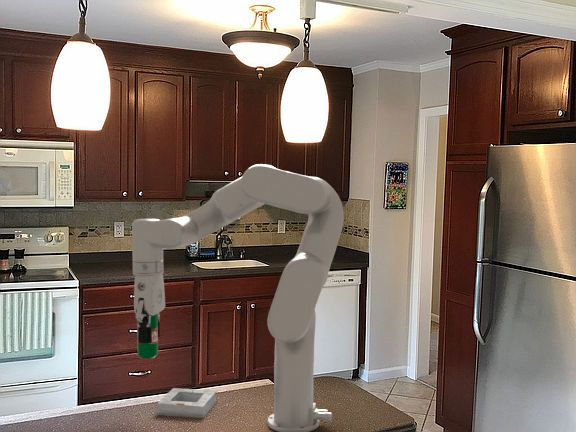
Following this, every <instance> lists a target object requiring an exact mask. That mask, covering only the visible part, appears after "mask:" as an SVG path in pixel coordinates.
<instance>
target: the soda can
mask: <svg viewBox="0 0 576 432" xmlns="http://www.w3.org/2000/svg"><path fill="white" fill-rule="evenodd" d="M143 314H148V313H147V312H143ZM144 318H146V320H147V317H144ZM158 322H159V321H158V317H157V314H155V315H151V321H150V327H152V342H151V343H139V330H138V321H137V320H136V336H137V337H136V339H137V340H136V342H137V347H136V348H137V357H138V358H139V359H142V360H143V359H144V360H149V359H155V358H157V356H158V354H159V337H158Z"/></svg>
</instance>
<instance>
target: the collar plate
mask: <svg viewBox="0 0 576 432" xmlns="http://www.w3.org/2000/svg"><path fill="white" fill-rule="evenodd" d="M216 403H217V390H212V389H211V390H209V389H208V390H207V389H195V388H194V389H192V388H177V387H173V388H172V389H171V390H169V391H168V392H167V393H166V394H165V396H163V397H162V398H161V399H160V400H159V401H158V402H157V403H156V405H157V408H156V409H157V410H156V411H157V412H156V413H157V414H156V416H161V417H162V416H163V417H180V418H191V419H192V418H195V419H204V418H205V417H206V416H207V415H208V413H209V412H210V411H211V410H212V408H213V407H214V405H215V404H216Z"/></svg>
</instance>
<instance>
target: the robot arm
mask: <svg viewBox="0 0 576 432" xmlns="http://www.w3.org/2000/svg"><path fill="white" fill-rule="evenodd" d="M264 205H269V206H271V207H275V208H278V209H283V210H288V211H292V212H295V213H298V214H304V215H307V216H308V217H307V218H308V219H307V221H306V222H307V223H306V226H305V229H304V230H303V233H302V238H301V241H300V244H299V246H298V249H297V252H296V254H295V256H294V257H293V258H292V259H291V260H290V261H288V263H287V264H286V266H284V269H283V271H282V274H281V276H280V278H279V282H278V285H277V288H276V291H275V294H274V297H273V299H272V302H271V305H270V309H269V311H268V314H267V315H268V316H267V322H266V323H267V328H268V330H269V333H270V335H271V336H272V337H273V338H274V363H273V370H274V371H273V375H274V376H273V380H274V381H273V383H274V384H273V386H274V387H273V402H274V403H273V413H272V414H270V415H269V416H268V417H267V426H268V427H269V428H270V429H272V430H274V431H276V432H312V431H314V430H316V429H318V428H319V426H320V424H321V422H320V421H327V422H328V421H329V422H331V421H332V415H333V413H332V412H328V409H324V408H323V409H319V408H318V407H317V406H316V405H317V403H316V402H314V376H315V375H314V371H315V370H314V367H315V365H314V364H315V363H314V362H315V334H316V319H317V318H316V317H317V316H316V310H315V309H316V306H317V303H318V300H319V298H320V295H321V292H322V291H323V288H324V287H325V285H326V283H327V281H328V277H329V272H330V269H331V265H332V262H333V260H334V256H335V253H336V250H337V247H338V244H339V240H340V237H341V234H342V229H343V226H344V221H345V219H344V216H345V215H344V207H343V203H342V200H341V199H340V196H339V194H338V193H337V192H336V190H335V189H334V188H333V186H331V184H329V183H328V182H327V181H326V180H324V179H322V178H320V177H317V176H308V175H303V174H299V173H295V172H291V171H288V170H282V169H279V168H276V167H274V166H273V165H271V164H263V163H260V164H259V163H258V164H254V165H252V166H250V167H248V168H247V169H246V170H245V171H244V173H243V174H242V176H241V177H238V178H237V179H235V180H233V181H232V182H230V183H228V184H226V185H224V186H223V187H221V188H219V189H217V190H215V192H213V194H212V196H211V198H210V199H209V200H208V201H206V202H205V203H204V204H202V205H201V206H200V207H197V208H196V209H194V210H192V211H190V212H188V213H187V214H185V215H183V216H180V217H179V216H178V217H172V218H166V219H159V218H137V219H134V220H133V221H132V224H131V237H132V238H131V241H132V242H131V244H132V246H131V247H132V248H131V249H132V250H131V251H132V275H133V276H134V284H133V285H134V287H133V309H134V314H135V320H136V322H137V321H138V330H139V343H151V342H152V327H150V321H151V315H155V314H157V317H158V338H160V337H161V322H160V321H161V312H162V311H164V309H165V308H166V296H165V295H166V294H165V293H166V292H165V282H164V281H165V280H164V273H165V271H164V249H166V250H176V249H181V248H184V247H188V246H190V245H191V246H192V245H193V244H195V243H197V242H198V241H201V240H202V239H204V238H206V237H207V236H209V235H212V234H213V233H215V232H217V231H218V230H220V229H221V228H222V229H223V228H224V227H226V226H228V225H230V224H232V223H233V222H235V221H236V220H238V219H240V218H243V217H244V216H245V215H247V214H249V213H250V212H253V211H254V210H256V209H258V208H260V207H263V206H264ZM143 312H147V313H148V314H143ZM144 317H147V320H146V318H144Z"/></svg>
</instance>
